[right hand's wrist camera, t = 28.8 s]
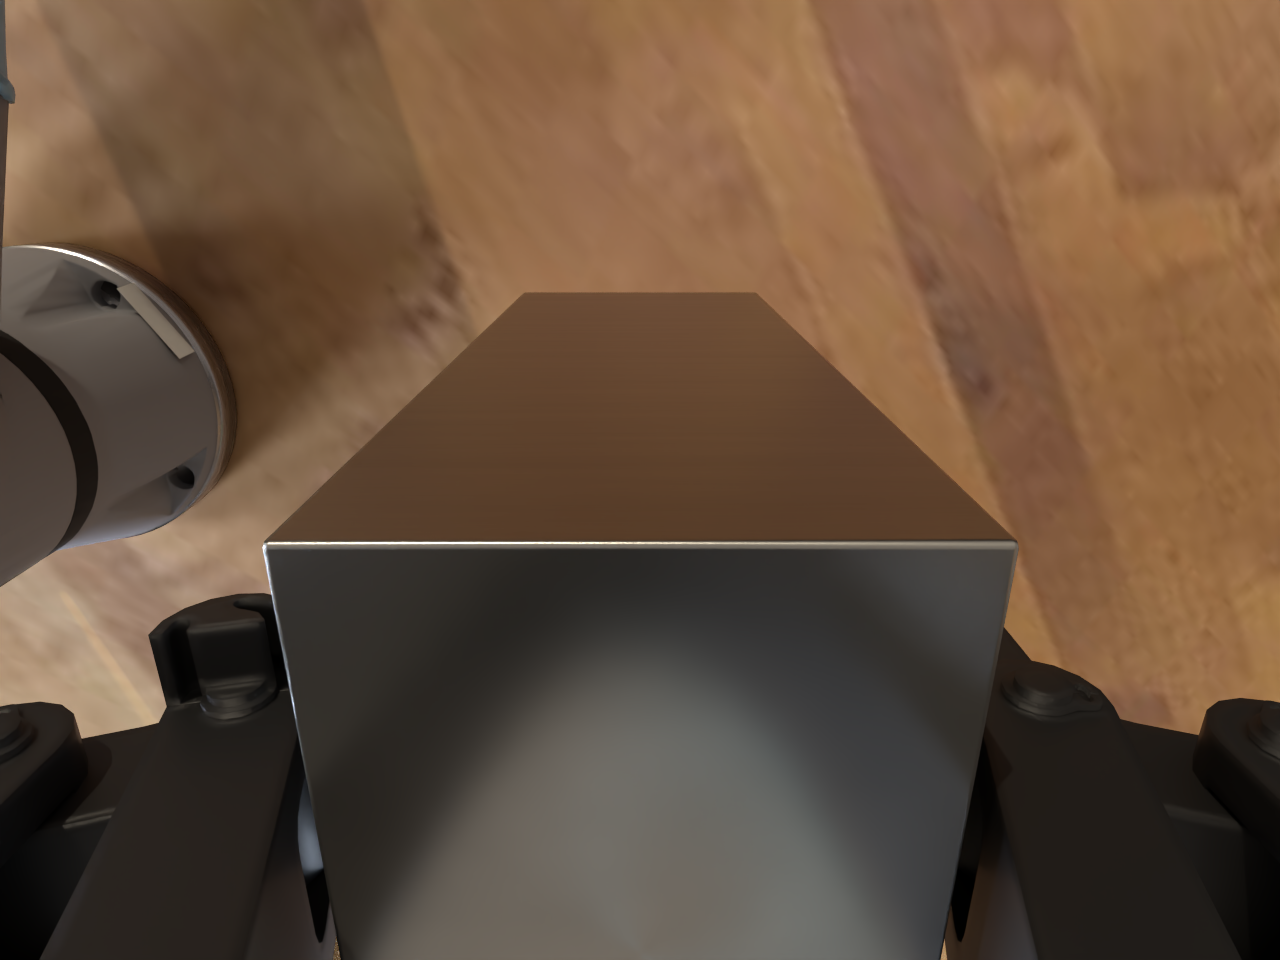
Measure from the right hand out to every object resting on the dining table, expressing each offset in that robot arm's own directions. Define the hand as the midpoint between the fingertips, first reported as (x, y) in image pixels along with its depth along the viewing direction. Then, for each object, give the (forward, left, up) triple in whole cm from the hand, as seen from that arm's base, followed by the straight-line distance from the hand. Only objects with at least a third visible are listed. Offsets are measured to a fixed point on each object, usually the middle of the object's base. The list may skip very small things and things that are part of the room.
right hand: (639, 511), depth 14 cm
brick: (0, 0, -3) cm, 3 cm away
